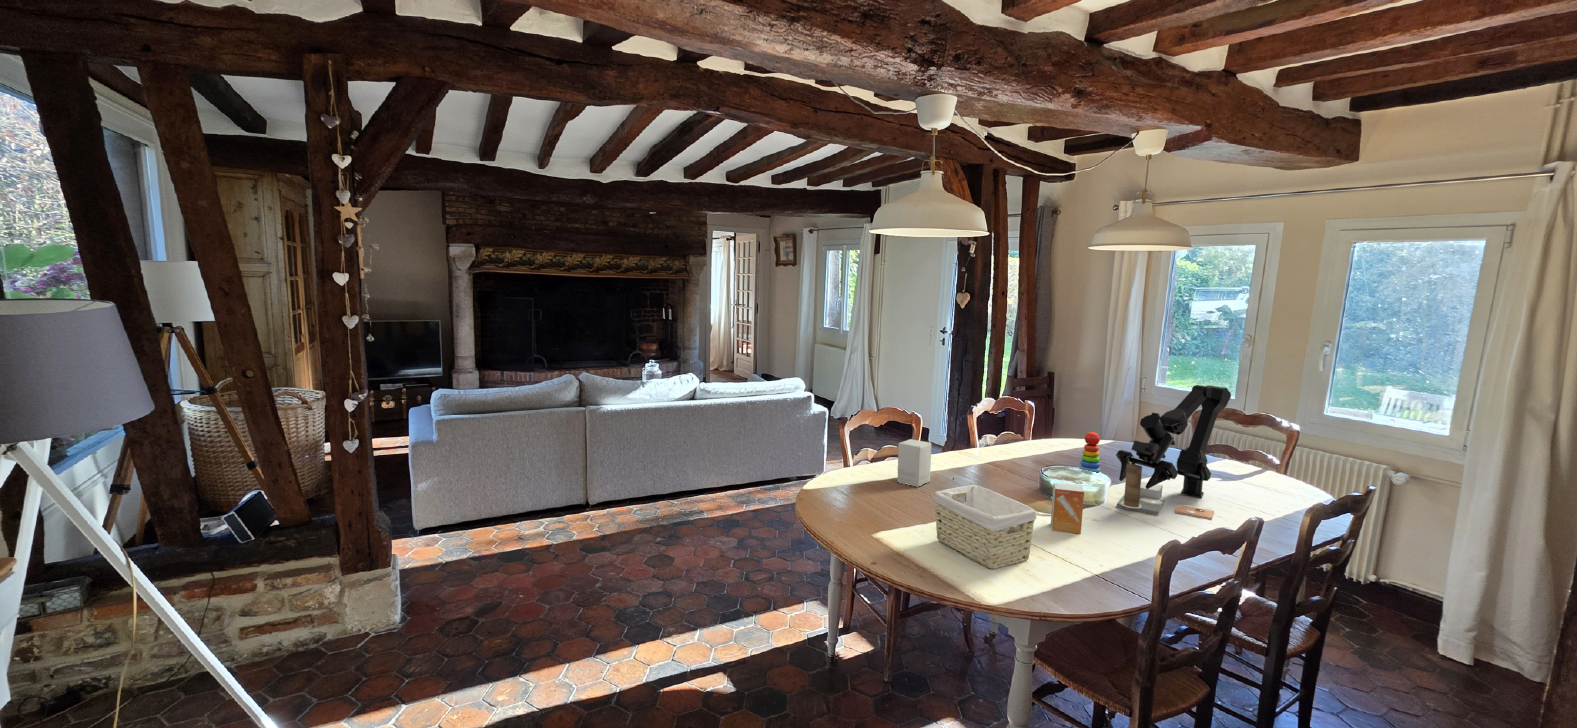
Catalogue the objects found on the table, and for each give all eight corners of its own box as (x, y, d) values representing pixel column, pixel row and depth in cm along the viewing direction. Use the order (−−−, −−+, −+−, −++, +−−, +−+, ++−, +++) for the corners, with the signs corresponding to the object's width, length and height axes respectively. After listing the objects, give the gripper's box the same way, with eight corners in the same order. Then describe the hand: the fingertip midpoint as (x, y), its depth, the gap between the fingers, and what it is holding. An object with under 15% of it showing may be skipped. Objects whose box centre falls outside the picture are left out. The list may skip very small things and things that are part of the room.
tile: (1178, 505, 220) (1178, 503, 220) (1214, 512, 214) (1214, 510, 214) (1175, 512, 214) (1175, 510, 214) (1211, 519, 208) (1211, 517, 208)
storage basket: (1036, 562, 175) (1040, 508, 173) (990, 574, 168) (993, 518, 166) (972, 531, 196) (975, 482, 194) (929, 540, 189) (931, 490, 187)
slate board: (1124, 496, 228) (1125, 493, 228) (1164, 504, 221) (1164, 500, 221) (1115, 508, 217) (1115, 504, 217) (1156, 516, 210) (1157, 512, 209)
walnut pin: (1128, 501, 220) (1131, 463, 218) (1141, 505, 216) (1144, 466, 214) (1120, 503, 217) (1124, 465, 216) (1133, 507, 214) (1137, 468, 212)
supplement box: (930, 482, 242) (932, 442, 240) (918, 488, 235) (920, 447, 233) (909, 477, 248) (910, 438, 246) (896, 482, 241) (897, 442, 239)
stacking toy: (1103, 485, 240) (1106, 435, 238) (1079, 484, 242) (1083, 434, 240) (1097, 479, 248) (1101, 430, 246) (1074, 478, 250) (1078, 429, 247)
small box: (1051, 530, 197) (1054, 488, 195) (1050, 523, 203) (1053, 482, 201) (1081, 534, 195) (1084, 491, 193) (1079, 526, 201) (1082, 484, 199)
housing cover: (1136, 491, 234) (1136, 480, 234) (1161, 496, 229) (1162, 485, 229) (1131, 497, 228) (1132, 486, 227) (1157, 502, 223) (1158, 490, 223)
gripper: (1121, 426, 224) (1097, 462, 221) (1175, 438, 208) (1150, 477, 204) (1134, 446, 229) (1111, 481, 225) (1188, 459, 213) (1164, 498, 209)
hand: (1133, 484), depth 216 cm, fingers open, 9 cm apart
